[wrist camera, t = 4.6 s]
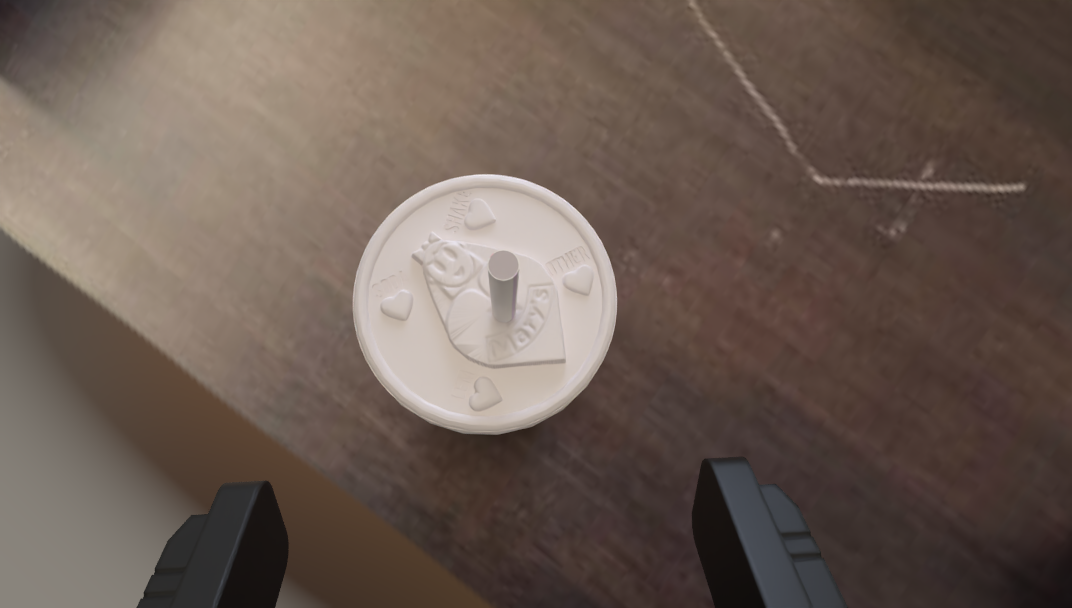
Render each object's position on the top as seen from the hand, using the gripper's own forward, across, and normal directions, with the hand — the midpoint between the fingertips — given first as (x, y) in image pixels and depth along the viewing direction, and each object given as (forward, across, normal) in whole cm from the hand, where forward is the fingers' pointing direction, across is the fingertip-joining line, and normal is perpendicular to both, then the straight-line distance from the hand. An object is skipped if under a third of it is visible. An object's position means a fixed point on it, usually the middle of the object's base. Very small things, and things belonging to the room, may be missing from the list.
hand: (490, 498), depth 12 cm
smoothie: (+12, 0, +6) cm, 13 cm away
